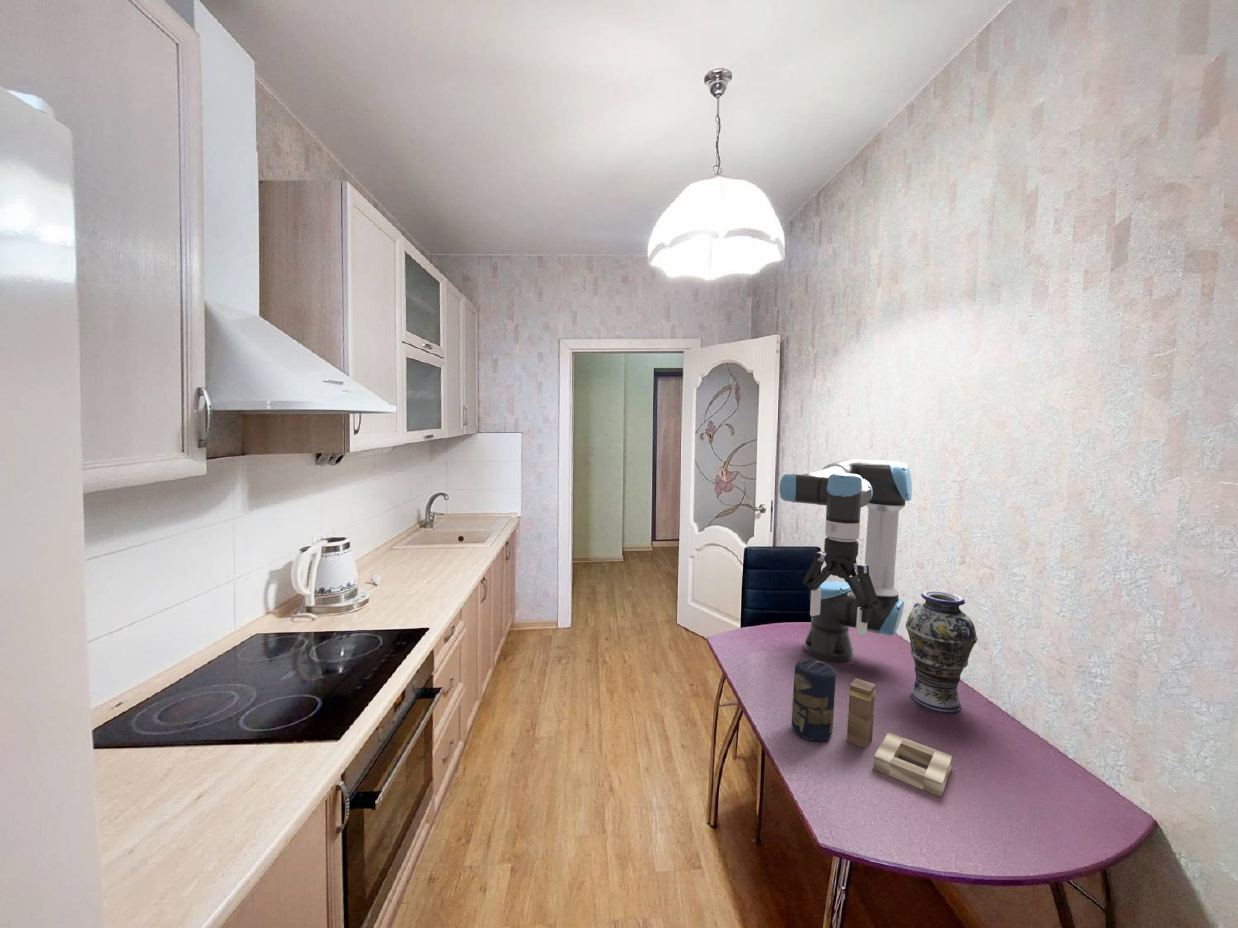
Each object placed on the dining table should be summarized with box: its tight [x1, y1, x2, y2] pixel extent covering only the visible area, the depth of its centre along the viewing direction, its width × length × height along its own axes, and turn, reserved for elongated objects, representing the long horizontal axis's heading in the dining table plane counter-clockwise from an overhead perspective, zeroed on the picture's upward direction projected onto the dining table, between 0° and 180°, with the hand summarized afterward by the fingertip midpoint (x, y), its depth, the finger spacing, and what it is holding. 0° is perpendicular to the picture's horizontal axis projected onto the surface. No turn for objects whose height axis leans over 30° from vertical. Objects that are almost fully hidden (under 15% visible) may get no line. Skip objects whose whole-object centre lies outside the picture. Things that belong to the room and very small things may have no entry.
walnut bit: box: [846, 678, 877, 749], centre depth 126 cm, size 5×5×14 cm
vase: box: [905, 589, 978, 714], centre depth 143 cm, size 17×17×30 cm
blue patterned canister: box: [791, 658, 837, 742], centre depth 128 cm, size 10×10×18 cm
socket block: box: [872, 732, 953, 798], centre depth 116 cm, size 12×13×3 cm
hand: (837, 624), depth 127 cm, fingers open, 13 cm apart
